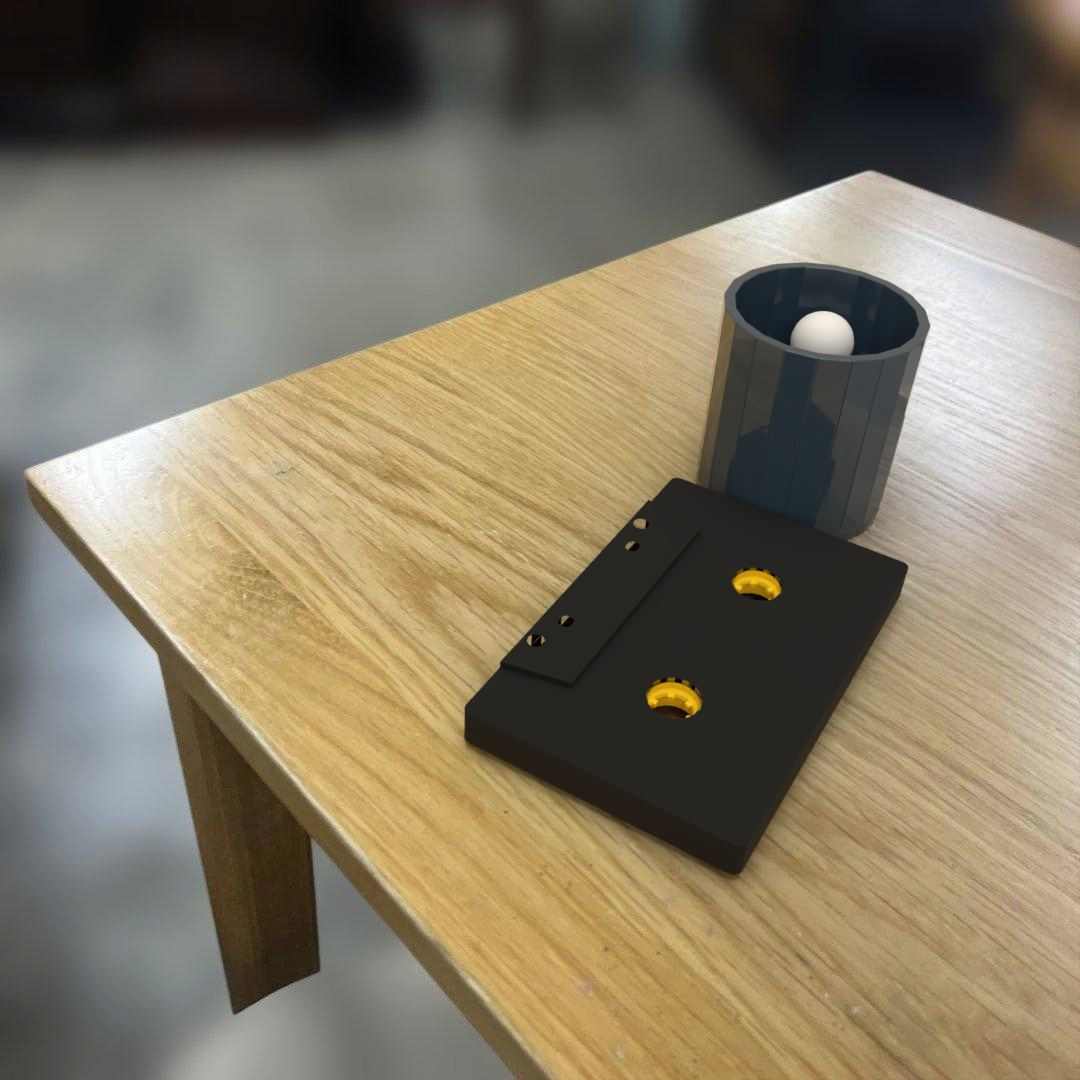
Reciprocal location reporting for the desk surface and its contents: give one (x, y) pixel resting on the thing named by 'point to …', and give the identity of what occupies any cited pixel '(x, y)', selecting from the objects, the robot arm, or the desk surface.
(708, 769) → the cassette tape
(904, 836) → the desk surface
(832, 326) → the chess pawn
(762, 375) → the pen holder
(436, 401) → the desk surface
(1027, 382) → the desk surface
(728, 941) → the desk surface
